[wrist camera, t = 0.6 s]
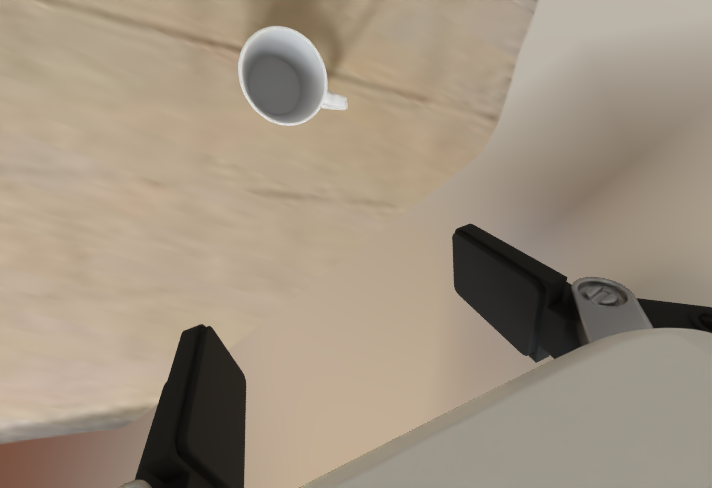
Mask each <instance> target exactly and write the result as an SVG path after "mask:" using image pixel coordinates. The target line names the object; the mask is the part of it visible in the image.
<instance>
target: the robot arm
mask: <svg viewBox="0 0 712 488" xmlns="http://www.w3.org/2000/svg"><path fill="white" fill-rule="evenodd" d="M452 240H453V268H454V287H455V290H456V292H457V293H458V294H459V295H460V296H461V297H462V298H463V299H464V300H465V301H466V302H467V303H468V304H469V305H470V306H471V307H473V309H474V310H476V311H477V312H478V313H479V314H480V315H481V316H482V317H483V318H484V319H485V320H486V321H487V322H488V323H489V324H491V325H492V326H493V327H494V328H495V329H496V330H497V331H498V332H499V333H500V334H501V335H502V336H503V337H504V338H505V339H507V340H508V341H509V342H510V343H511V344H512V345H513V346H514V347H515V348H516V349H517V350H518V351H519V352H520V353H522V354H523V355H525V356H527V355H529V356H530V357H531V358H532V359H533V360H534V361H535V362H539V361H541V360H543V359H544V358H547V357H548V356H549V355H551V356H552V357H553V358H554V360H552V361H550V362H548V363H546V364H544V365H541V366H539V367H537V368H535V369H533V370H531V371H529V372H527V373H526V374H523V375H521V376H519V377H517V378H515V379H513V380H511V381H509V382H507V383H505V384H503V385H501V386H499V387H497V388H495V389H493V390H491V391H489V392H487V393H485V394H483V395H481V396H479V397H477V398H475V399H473V400H471V401H469V402H467V403H465V404H463V405H461V406H459V407H457V408H455V409H453V410H451V411H449V412H447V413H445V414H443V415H441V416H439V417H437V418H435V419H433V420H431V421H429V422H427V423H425V424H423V425H421V426H419V427H418V428H415V429H413V430H412V431H409V432H407V433H405V434H403V435H402V436H399V437H398V438H395V439H393V440H392V441H390V442H388V443H386V444H384V445H382V446H380V447H378V448H376V449H374V450H372V451H370V452H368V453H366V454H364V455H362V456H360V457H358V458H356V459H354V460H352V461H350V462H348V463H346V464H344V465H342V466H341V467H339V468H337V469H335V470H333V471H331V472H329V473H327V474H325V475H323V476H321V477H319V478H317V479H315V480H313V481H311V482H309V483H307V484H305V485H303V486H301V487H299V488H712V308H711V307H705V306H697V305H696V306H695V305H688V304H680V303H672V302H663V301H655V300H646V299H639V298H638V299H637V298H636V297H635V296H634V294H633V293H632V292H631V291H630V290H629V289H628V288H626V287H625V286H623V285H622V284H620V283H617V282H615V281H612V280H608V279H605V278H598V277H585V278H580V279H578V280H576V281H575V282H573V284H572V285H571V284H569V283H568V282H566V281H567V277H566V276H564V275H562V274H560V273H559V272H557V271H555V270H553V269H552V268H550V267H548V266H546V265H544V264H542V263H541V262H539V261H537V260H535V259H534V258H532V257H530V256H528V255H526V254H525V253H523V252H521V251H519V250H518V249H516V248H514V247H512V246H510V245H509V244H507V243H505V242H503V241H502V240H500V239H498V238H496V237H494V236H493V235H491V234H489V233H487V232H486V231H484V230H482V229H480V228H478V227H477V226H475V225H473V224H468V225H466V226H462V227H460V228H458V229H456V231H455V233H454V234H453V237H452ZM245 410H246V380H245V376H244V374H243V372H242V371H241V369H240V368H239V366H238V365H237V364H236V362H235V361H234V359H233V358H232V356H231V355H230V353H229V352H228V350H227V349H226V347H225V346H224V344H223V343H222V341H221V340H220V338H219V337H218V336H217V334H216V333H215V331H214V330H213V328H212V327H211V326H208V327H205V326H204V325H203V324H201V325H198V326H196V327H193V328H190V329H188V330H185V331H183V332H182V334H181V338H180V341H179V344H178V348H177V351H176V354H175V358H174V361H173V364H172V368H171V371H170V374H169V378H168V381H167V382H166V383H165V385H164V387H163V390H162V393H161V397H160V400H159V403H158V406H157V409H156V413H155V416H154V419H153V422H152V426H151V429H150V432H149V435H148V439H147V442H146V445H145V449H144V451H143V455H142V458H141V462H140V464H139V468H138V471H137V474H136V478H135V480H133V481H131V482H128V483H125V484H123V485H122V486H120V487H119V488H244V460H245V459H244V457H245V412H246V411H245Z"/></svg>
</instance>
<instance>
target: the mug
mask: <svg viewBox="0 0 712 488" xmlns="http://www.w3.org/2000/svg"><path fill="white" fill-rule="evenodd" d="M238 75H239V81H240V85H241V88H242V91H243V93H244V95H245V97H246V99H247V100H248V102H249V103H250V105H251V106H252V107H253V108H254V109H255V111H257V112H258V113H259V114H260V115H261V116H262V117H264V118H265V119H267V120H269V121H271V122H273V123H276V124H279V125H285V126H292V125H298V124H302V123H304V122H306V121H308V120H309V119H311V118H312V117H313V116H314V115H315V114H316V113H317V112H318V111H319V110H320V108H325V109H333V110H346V109H347V107H348V102H347V98H346V97H345V96H343V95H340V94H336V93H333V92H331V91H329V90H327V73H326V68H325V65H324V62H323V60H322V57H321V55H320V54H319V52H318V50H317V49H316V47H315V46H314V45H313V44H312V42H311V41H310V40H309V39H307V38H306V37H305V36H304V35H302V34H301V33H299V32H298V31H296V30H294V29H291V28H288V27H284V26H269V27H265V28H263V29H260V30H259V31H257V32H255V33H254V34H253V35H252V36H251V37H250V38H249V39H248V40H247V41H246V43H245V44H244V46H243V48H242V50H241V53H240V56H239V61H238Z"/></svg>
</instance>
